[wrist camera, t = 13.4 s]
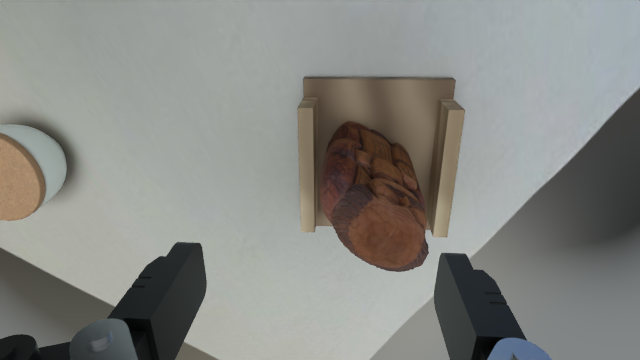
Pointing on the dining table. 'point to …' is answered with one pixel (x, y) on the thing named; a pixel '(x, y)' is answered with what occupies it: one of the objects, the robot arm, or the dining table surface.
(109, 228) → the dining table surface
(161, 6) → the dining table surface
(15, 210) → the lidded jar
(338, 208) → the wooden figurine
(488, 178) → the dining table surface
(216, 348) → the dining table surface
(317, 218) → the light wood shelf
